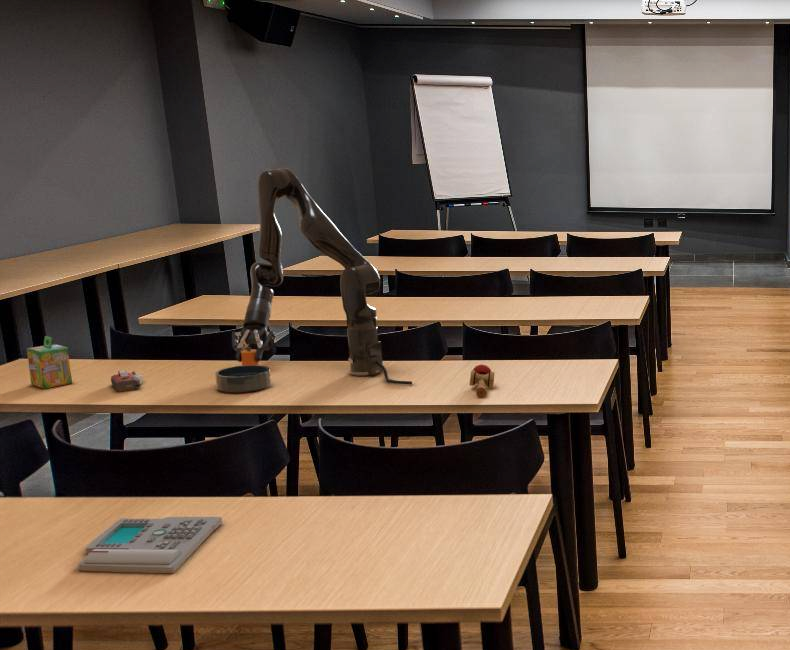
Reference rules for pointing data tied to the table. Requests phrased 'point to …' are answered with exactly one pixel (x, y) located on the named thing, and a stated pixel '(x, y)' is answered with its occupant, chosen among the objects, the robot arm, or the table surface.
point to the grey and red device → (126, 381)
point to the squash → (248, 357)
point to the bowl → (243, 378)
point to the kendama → (482, 379)
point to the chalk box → (49, 365)
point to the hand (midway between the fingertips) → (248, 360)
